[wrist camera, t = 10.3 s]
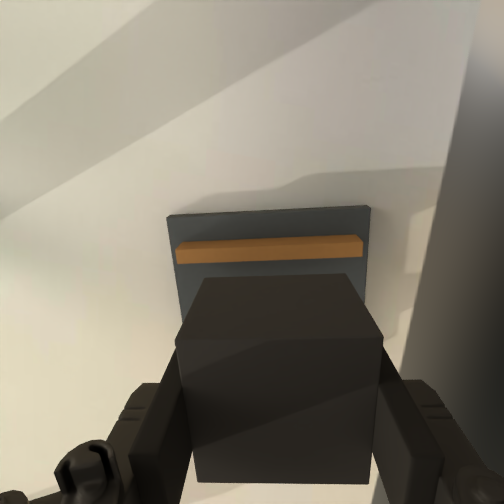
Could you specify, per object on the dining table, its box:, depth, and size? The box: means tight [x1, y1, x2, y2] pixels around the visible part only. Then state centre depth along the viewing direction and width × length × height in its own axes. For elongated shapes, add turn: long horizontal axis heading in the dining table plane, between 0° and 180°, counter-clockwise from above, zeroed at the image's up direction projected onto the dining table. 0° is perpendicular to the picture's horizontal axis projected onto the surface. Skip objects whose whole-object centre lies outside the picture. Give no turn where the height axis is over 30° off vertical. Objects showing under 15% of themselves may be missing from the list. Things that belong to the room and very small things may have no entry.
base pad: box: [166, 205, 371, 322], centre depth 26 cm, size 16×14×3 cm
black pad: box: [175, 273, 384, 484], centre depth 12 cm, size 6×6×4 cm
